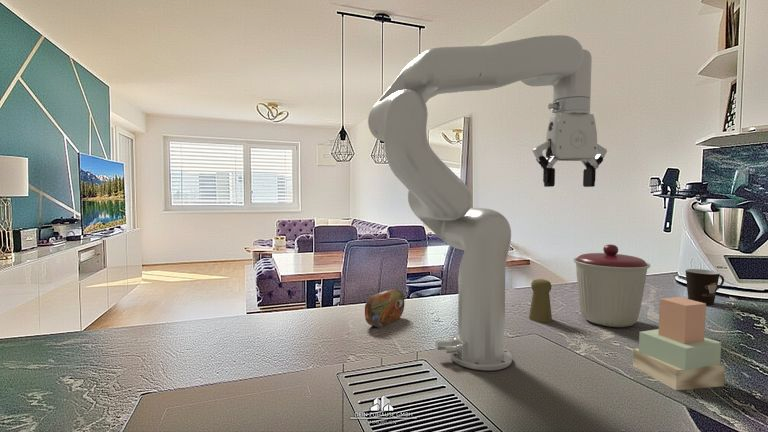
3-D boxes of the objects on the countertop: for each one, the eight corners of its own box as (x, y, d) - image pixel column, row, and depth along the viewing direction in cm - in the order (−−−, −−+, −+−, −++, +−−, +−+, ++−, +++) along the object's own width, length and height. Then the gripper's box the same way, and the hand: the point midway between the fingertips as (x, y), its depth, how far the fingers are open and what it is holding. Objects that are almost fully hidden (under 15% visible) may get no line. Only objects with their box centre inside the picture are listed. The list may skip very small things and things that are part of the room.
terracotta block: (684, 343, 74) (686, 305, 74) (658, 334, 79) (660, 298, 78) (704, 340, 75) (706, 303, 75) (677, 332, 80) (679, 296, 80)
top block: (684, 370, 72) (685, 348, 72) (638, 351, 81) (639, 331, 80) (720, 363, 75) (721, 342, 75) (671, 346, 83) (672, 327, 83)
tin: (371, 331, 103) (371, 298, 103) (362, 328, 105) (362, 296, 104) (405, 316, 115) (405, 287, 115) (396, 314, 117) (396, 285, 116)
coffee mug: (690, 305, 127) (692, 273, 126) (679, 298, 135) (680, 268, 135) (735, 308, 124) (737, 275, 123) (721, 300, 132) (723, 270, 131)
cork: (548, 316, 116) (549, 277, 115) (555, 322, 110) (556, 282, 109) (526, 315, 116) (527, 277, 116) (532, 322, 110) (532, 281, 110)
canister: (557, 315, 116) (559, 242, 115) (604, 309, 122) (606, 239, 121) (612, 336, 99) (615, 250, 98) (664, 328, 105) (667, 247, 104)
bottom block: (675, 392, 72) (676, 370, 72) (632, 368, 82) (633, 348, 82) (723, 387, 74) (724, 366, 74) (676, 364, 84) (676, 345, 84)
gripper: (544, 104, 85) (542, 186, 86) (618, 107, 88) (615, 186, 89) (526, 111, 93) (524, 186, 94) (595, 113, 95) (593, 187, 96)
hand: (569, 186), depth 91 cm, fingers open, 9 cm apart
